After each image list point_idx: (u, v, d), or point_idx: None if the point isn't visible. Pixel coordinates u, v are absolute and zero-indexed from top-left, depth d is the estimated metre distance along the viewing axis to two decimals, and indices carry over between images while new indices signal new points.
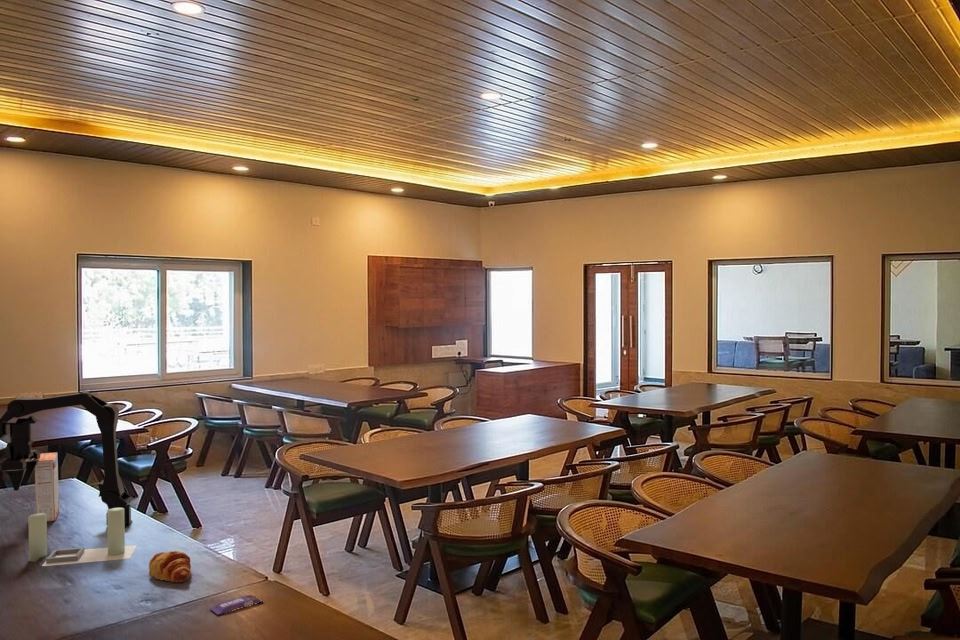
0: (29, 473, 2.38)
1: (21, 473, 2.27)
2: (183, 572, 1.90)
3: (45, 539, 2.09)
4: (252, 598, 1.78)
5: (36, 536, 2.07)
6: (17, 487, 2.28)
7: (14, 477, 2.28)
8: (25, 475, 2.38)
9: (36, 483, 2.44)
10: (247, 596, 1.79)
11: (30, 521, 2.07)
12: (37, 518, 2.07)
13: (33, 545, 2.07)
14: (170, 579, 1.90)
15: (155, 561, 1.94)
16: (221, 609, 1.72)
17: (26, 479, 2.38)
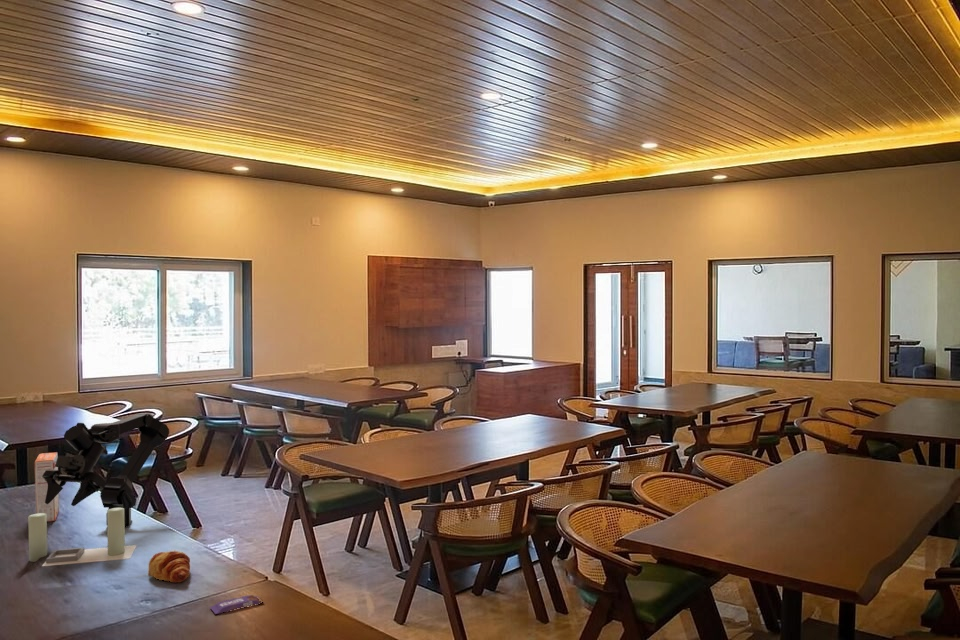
0: (54, 495, 2.21)
1: (91, 492, 2.21)
2: (182, 572, 1.90)
3: (45, 539, 2.09)
4: (252, 599, 1.77)
5: (36, 536, 2.07)
6: (76, 503, 2.17)
7: (83, 492, 2.18)
8: (50, 495, 2.20)
9: (36, 483, 2.44)
10: (248, 596, 1.79)
11: (30, 521, 2.07)
12: (37, 518, 2.07)
13: (33, 545, 2.07)
14: (169, 579, 1.90)
15: (154, 561, 1.94)
16: (219, 608, 1.72)
17: (49, 499, 2.19)
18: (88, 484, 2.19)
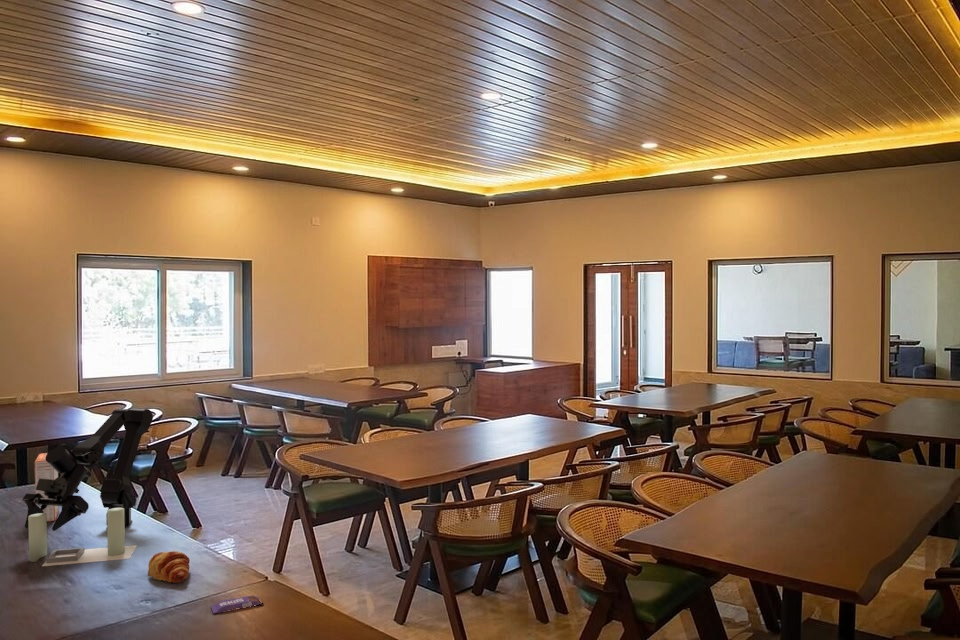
0: None
1: (73, 516, 2.14)
2: (180, 572, 1.90)
3: (45, 539, 2.09)
4: (252, 599, 1.77)
5: (36, 536, 2.07)
6: (57, 527, 2.10)
7: (64, 516, 2.11)
8: None
9: (36, 483, 2.44)
10: (249, 596, 1.78)
11: (30, 521, 2.07)
12: (37, 518, 2.07)
13: (33, 545, 2.07)
14: (168, 579, 1.90)
15: (154, 561, 1.94)
16: (218, 608, 1.73)
17: None
18: (70, 508, 2.12)
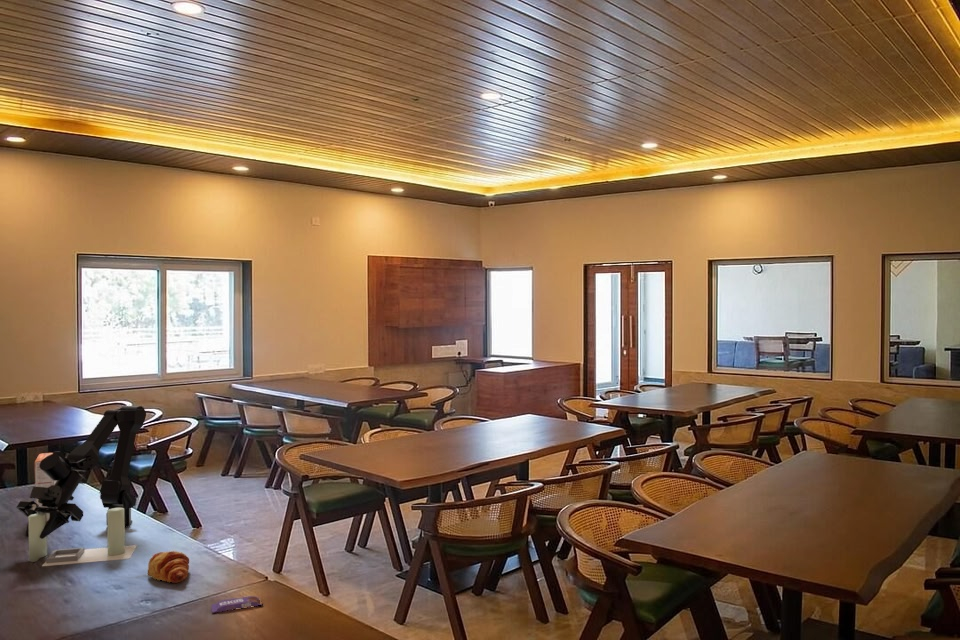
0: None
1: (61, 524, 2.12)
2: (179, 573, 1.90)
3: (45, 539, 2.09)
4: (252, 600, 1.76)
5: (36, 536, 2.07)
6: (45, 535, 2.08)
7: (52, 524, 2.10)
8: None
9: (36, 483, 2.44)
10: (250, 597, 1.78)
11: (30, 521, 2.07)
12: (37, 518, 2.07)
13: (33, 545, 2.07)
14: (167, 579, 1.90)
15: (153, 561, 1.94)
16: (217, 607, 1.73)
17: None
18: (58, 515, 2.10)
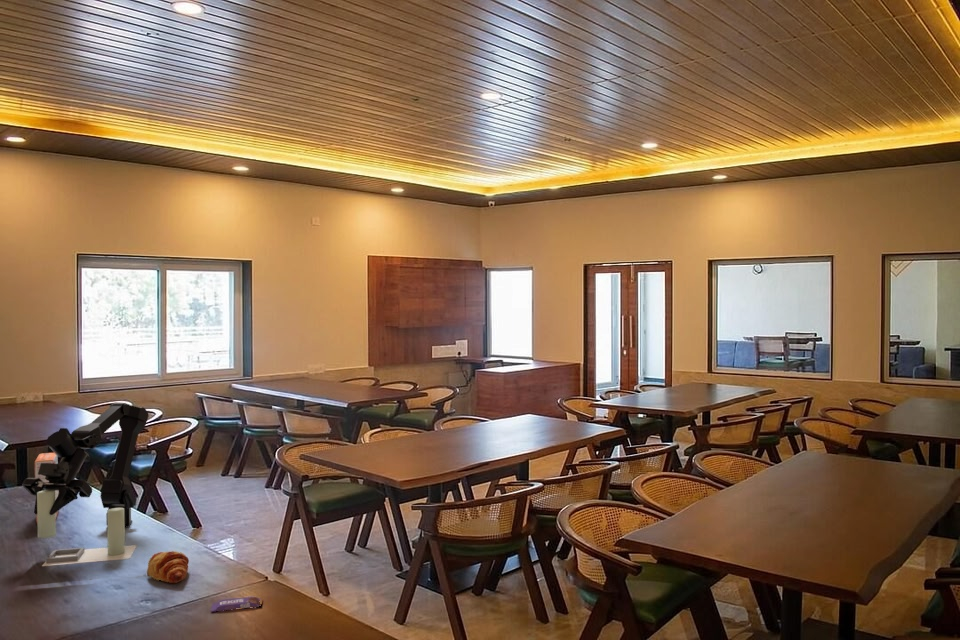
0: None
1: (69, 500, 2.12)
2: (178, 573, 1.89)
3: (54, 516, 2.08)
4: (251, 601, 1.76)
5: (46, 512, 2.06)
6: (54, 511, 2.08)
7: (61, 500, 2.09)
8: None
9: None
10: (250, 597, 1.78)
11: (39, 497, 2.06)
12: (46, 494, 2.06)
13: (42, 522, 2.06)
14: (165, 579, 1.90)
15: (152, 561, 1.94)
16: (217, 606, 1.74)
17: None
18: (67, 492, 2.10)
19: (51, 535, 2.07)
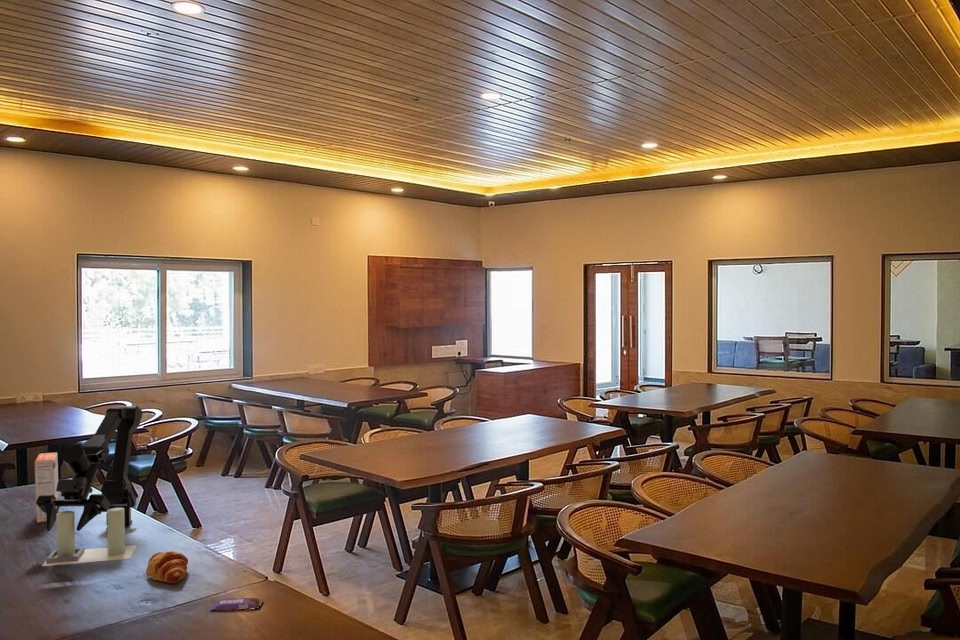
0: (53, 522, 2.09)
1: (93, 515, 2.12)
2: (176, 573, 1.89)
3: (74, 537, 2.08)
4: (250, 602, 1.75)
5: (67, 534, 2.06)
6: (81, 527, 2.07)
7: (87, 516, 2.09)
8: (50, 521, 2.08)
9: (36, 483, 2.44)
10: (251, 598, 1.77)
11: (60, 519, 2.05)
12: (68, 516, 2.06)
13: (63, 543, 2.06)
14: (164, 580, 1.90)
15: (151, 561, 1.94)
16: (216, 605, 1.74)
17: (50, 526, 2.07)
18: (92, 507, 2.10)
19: None
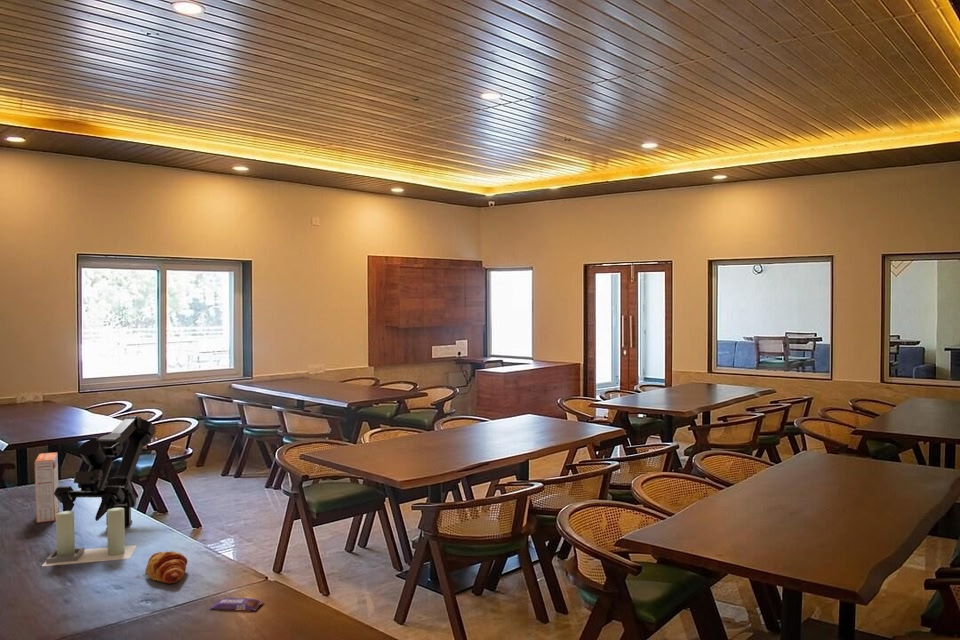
0: None
1: (111, 506, 2.21)
2: (174, 573, 1.89)
3: (73, 537, 2.08)
4: (249, 603, 1.75)
5: (67, 533, 2.06)
6: (99, 517, 2.17)
7: (104, 506, 2.19)
8: None
9: (36, 483, 2.44)
10: (251, 599, 1.77)
11: (59, 519, 2.05)
12: (67, 515, 2.06)
13: (63, 543, 2.06)
14: (162, 580, 1.90)
15: (150, 561, 1.94)
16: (217, 604, 1.75)
17: None
18: (110, 498, 2.20)
19: None
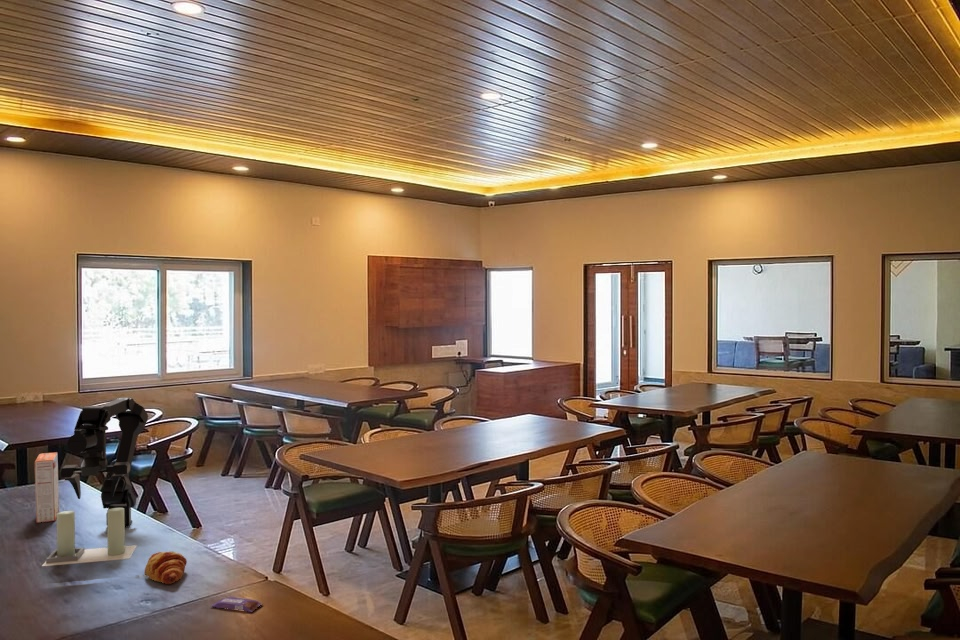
0: (79, 487, 2.26)
1: (120, 476, 2.30)
2: (172, 574, 1.89)
3: (74, 537, 2.08)
4: (247, 604, 1.74)
5: (67, 533, 2.06)
6: (114, 492, 2.28)
7: None
8: (78, 490, 2.25)
9: (36, 483, 2.44)
10: (251, 600, 1.76)
11: (60, 518, 2.06)
12: (68, 515, 2.06)
13: (63, 543, 2.06)
14: (160, 580, 1.90)
15: (149, 561, 1.94)
16: (218, 602, 1.76)
17: (80, 494, 2.25)
18: None
19: None
